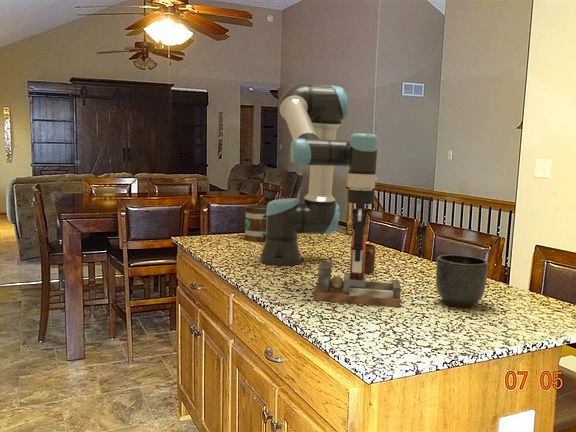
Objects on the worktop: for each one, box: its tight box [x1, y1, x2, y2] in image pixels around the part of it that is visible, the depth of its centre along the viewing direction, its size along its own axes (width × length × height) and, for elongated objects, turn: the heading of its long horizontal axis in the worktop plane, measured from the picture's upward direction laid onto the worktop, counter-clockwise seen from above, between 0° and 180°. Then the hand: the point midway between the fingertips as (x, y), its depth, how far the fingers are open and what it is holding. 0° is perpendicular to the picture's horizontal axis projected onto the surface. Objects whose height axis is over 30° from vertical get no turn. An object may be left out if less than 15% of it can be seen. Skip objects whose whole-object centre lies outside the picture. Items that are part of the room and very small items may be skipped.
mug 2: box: [364, 243, 376, 274], centre depth 187 cm, size 12×8×9 cm, turn 13°
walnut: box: [330, 275, 344, 289], centre depth 156 cm, size 4×4×4 cm
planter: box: [435, 254, 489, 309], centre depth 152 cm, size 14×14×13 cm
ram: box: [343, 234, 367, 293], centre depth 154 cm, size 6×8×16 cm
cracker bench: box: [312, 261, 402, 308], centre depth 155 cm, size 24×12×9 cm, turn 81°
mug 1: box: [244, 204, 267, 243], centre depth 242 cm, size 20×14×15 cm
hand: (356, 270), depth 154 cm, fingers closed on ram, 4 cm apart
